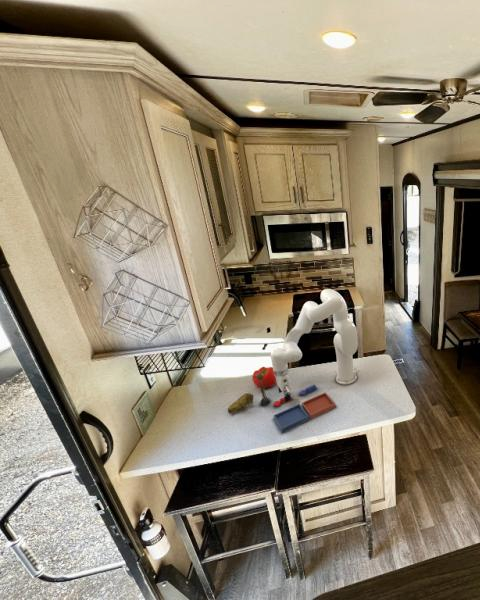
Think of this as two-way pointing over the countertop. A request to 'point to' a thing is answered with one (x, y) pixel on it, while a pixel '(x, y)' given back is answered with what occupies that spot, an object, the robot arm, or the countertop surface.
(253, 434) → the countertop surface
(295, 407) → the blue tray
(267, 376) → the tomato
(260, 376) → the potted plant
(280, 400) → the red spoon
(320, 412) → the red tray
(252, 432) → the countertop surface
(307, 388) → the blue spoon
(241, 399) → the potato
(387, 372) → the countertop surface
